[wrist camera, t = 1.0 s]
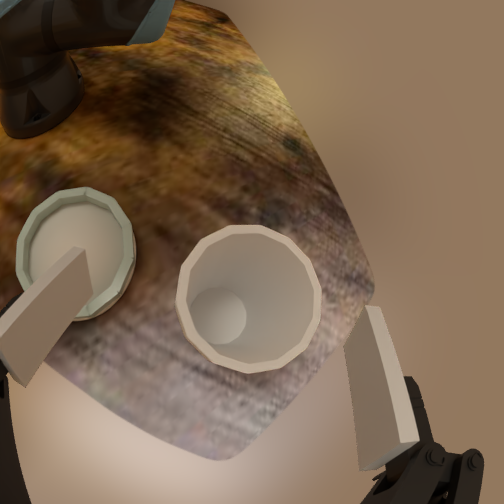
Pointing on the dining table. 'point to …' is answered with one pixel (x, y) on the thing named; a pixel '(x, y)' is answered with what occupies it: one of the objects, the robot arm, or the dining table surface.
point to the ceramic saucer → (80, 244)
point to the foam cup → (248, 299)
